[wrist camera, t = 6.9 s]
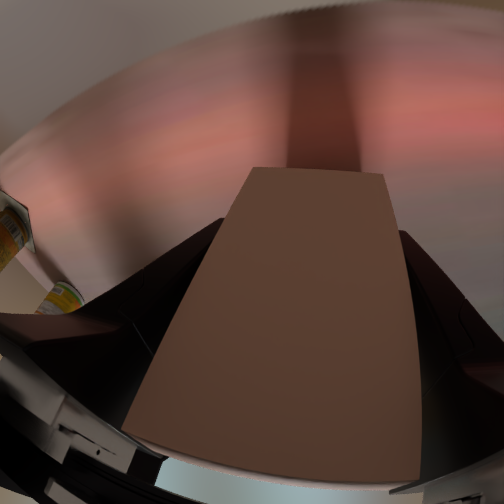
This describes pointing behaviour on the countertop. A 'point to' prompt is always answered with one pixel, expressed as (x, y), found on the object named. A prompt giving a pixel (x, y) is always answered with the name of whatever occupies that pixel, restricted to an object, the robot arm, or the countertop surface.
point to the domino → (294, 342)
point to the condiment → (13, 229)
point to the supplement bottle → (60, 300)
